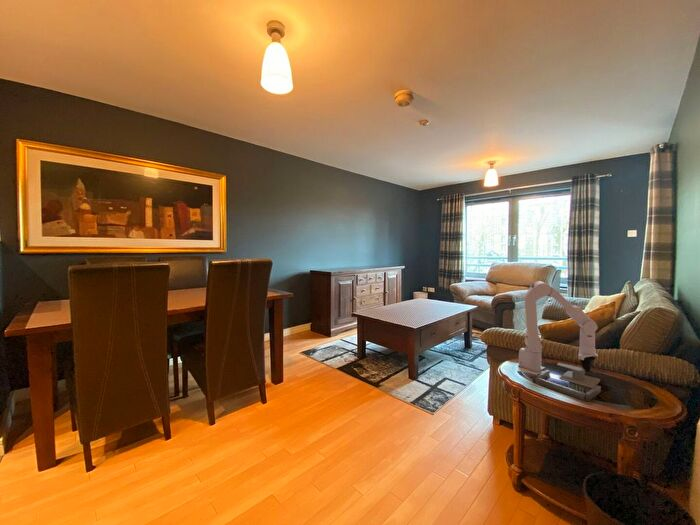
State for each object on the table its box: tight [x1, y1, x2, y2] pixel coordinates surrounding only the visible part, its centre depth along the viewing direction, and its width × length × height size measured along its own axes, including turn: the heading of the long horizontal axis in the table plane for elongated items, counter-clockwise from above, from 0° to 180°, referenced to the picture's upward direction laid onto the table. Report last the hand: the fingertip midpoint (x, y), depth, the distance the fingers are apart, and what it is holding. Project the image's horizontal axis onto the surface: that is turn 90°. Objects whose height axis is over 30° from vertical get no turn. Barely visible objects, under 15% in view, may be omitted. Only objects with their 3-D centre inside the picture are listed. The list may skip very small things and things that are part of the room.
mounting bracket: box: [532, 369, 602, 403], centre depth 127 cm, size 20×13×2 cm, turn 32°
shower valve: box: [556, 362, 601, 389], centre depth 134 cm, size 12×6×15 cm
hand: (586, 371), depth 139 cm, fingers closed
